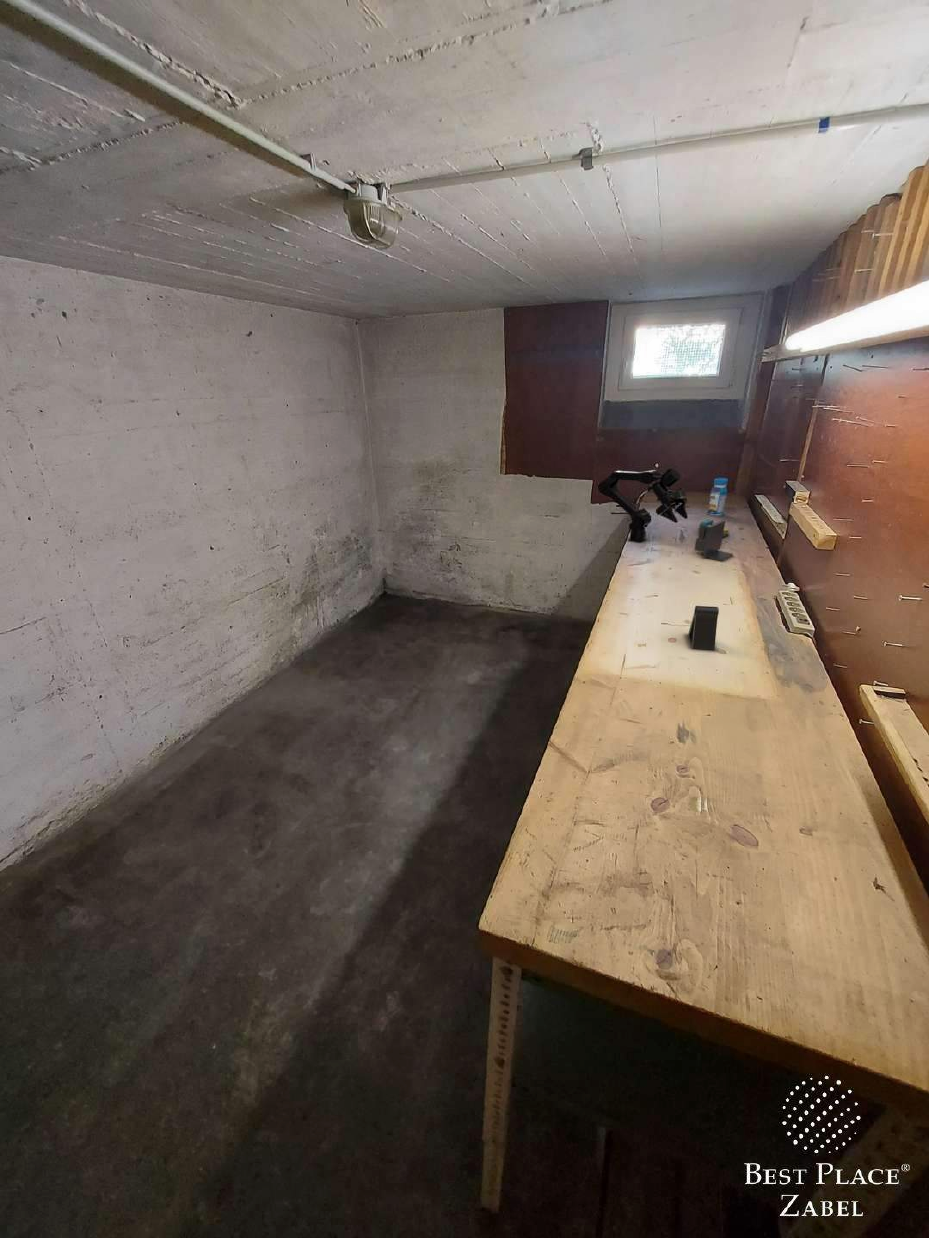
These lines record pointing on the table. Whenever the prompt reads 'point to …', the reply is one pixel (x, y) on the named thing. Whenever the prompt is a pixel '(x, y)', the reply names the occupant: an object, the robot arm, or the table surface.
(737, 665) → the table surface
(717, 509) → the beverage bottle
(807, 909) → the table surface
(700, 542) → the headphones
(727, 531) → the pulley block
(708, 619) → the phone stand
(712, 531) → the dark panel
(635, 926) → the table surface
